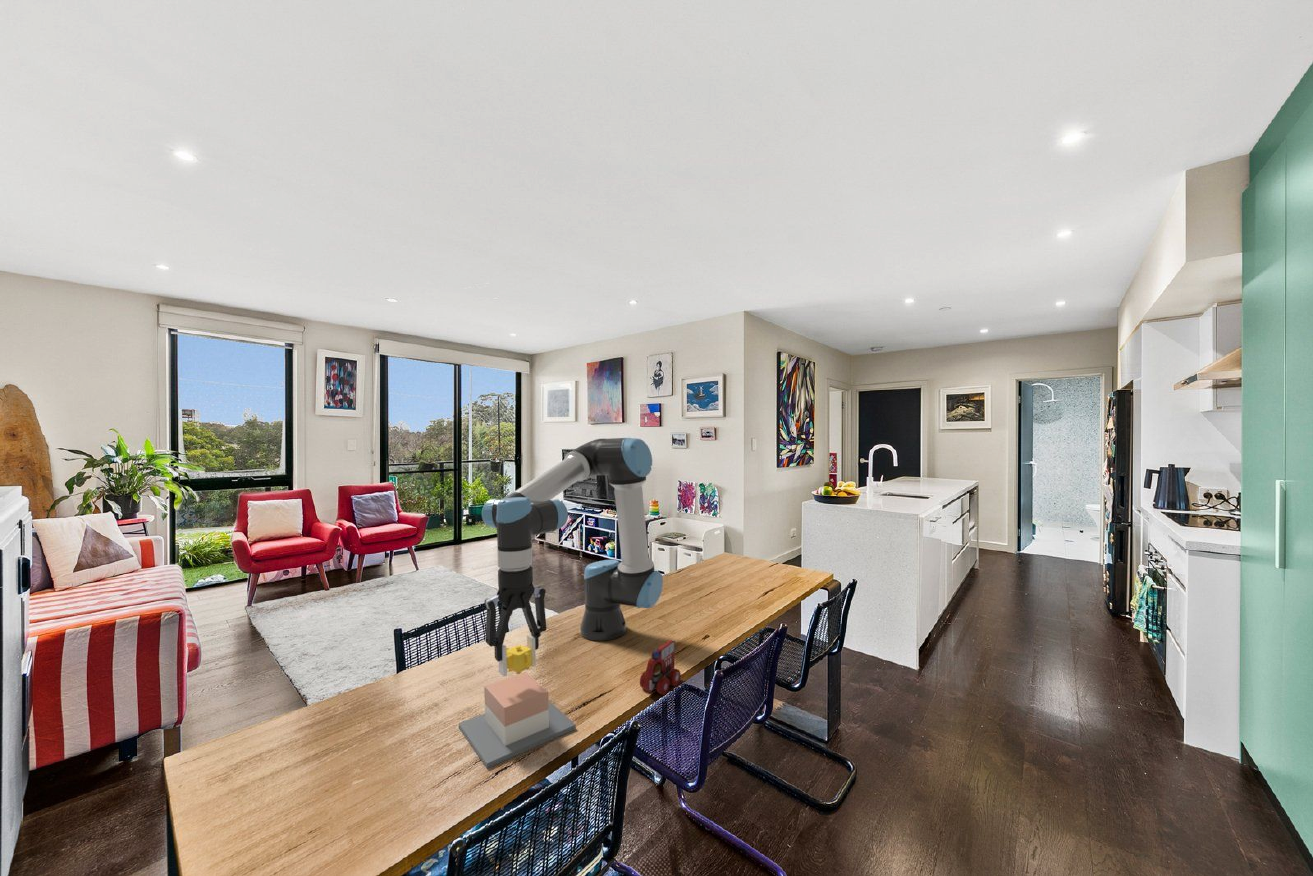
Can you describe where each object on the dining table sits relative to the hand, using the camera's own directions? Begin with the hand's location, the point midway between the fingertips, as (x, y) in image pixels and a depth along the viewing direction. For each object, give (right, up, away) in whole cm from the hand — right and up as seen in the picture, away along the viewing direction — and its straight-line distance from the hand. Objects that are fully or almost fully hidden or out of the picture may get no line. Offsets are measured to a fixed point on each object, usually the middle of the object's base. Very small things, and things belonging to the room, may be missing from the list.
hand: (517, 668), depth 112 cm
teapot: (0, 0, 0) cm, 1 cm away
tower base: (0, -13, 0) cm, 13 cm away
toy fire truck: (+32, -13, +17) cm, 39 cm away
